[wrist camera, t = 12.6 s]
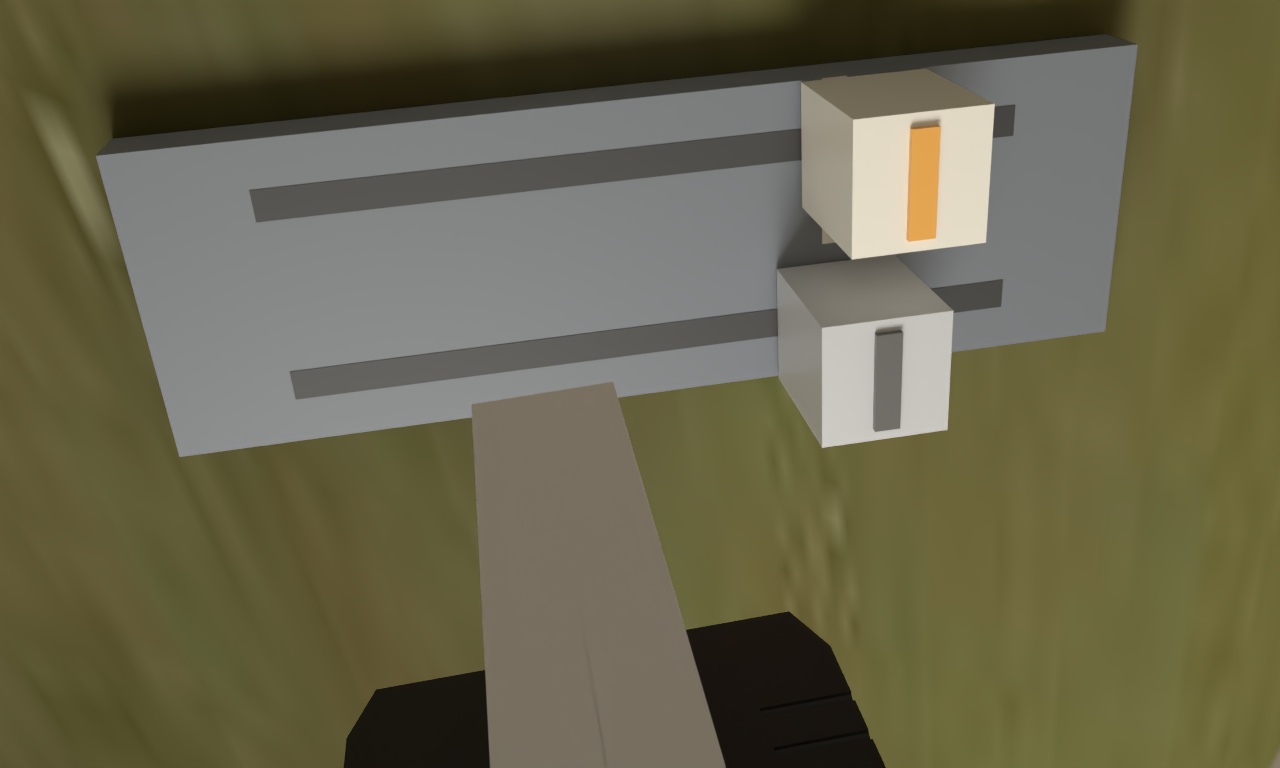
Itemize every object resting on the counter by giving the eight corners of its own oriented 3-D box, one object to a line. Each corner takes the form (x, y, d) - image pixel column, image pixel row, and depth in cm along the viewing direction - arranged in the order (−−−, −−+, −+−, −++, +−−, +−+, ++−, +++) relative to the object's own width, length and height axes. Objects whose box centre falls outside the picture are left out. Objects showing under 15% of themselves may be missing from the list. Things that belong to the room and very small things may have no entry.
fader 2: (776, 269, 39) (823, 330, 34) (893, 254, 39) (956, 313, 35) (778, 378, 41) (824, 450, 36) (891, 363, 41) (949, 432, 37)
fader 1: (800, 81, 36) (855, 121, 32) (926, 68, 37) (997, 105, 32) (801, 207, 38) (854, 261, 34) (921, 193, 39) (988, 244, 34)
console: (112, 138, 36) (95, 156, 34) (1105, 33, 40) (1138, 44, 38) (190, 428, 40) (179, 457, 39) (1077, 310, 44) (1105, 331, 42)
